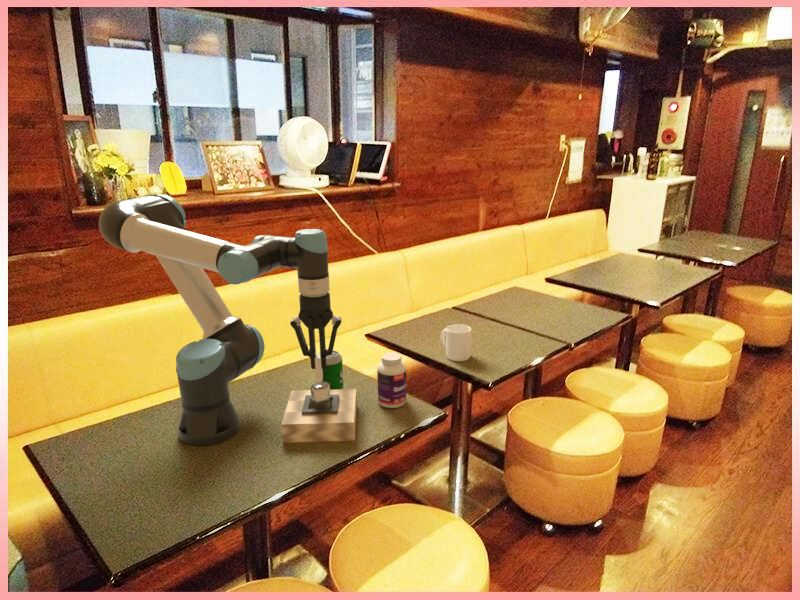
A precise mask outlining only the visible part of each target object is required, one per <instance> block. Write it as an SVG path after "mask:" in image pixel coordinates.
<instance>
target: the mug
mask: <svg viewBox="0 0 800 600" xmlns="http://www.w3.org/2000/svg"><path fill="white" fill-rule="evenodd" d="M440 342H441V343H440V344H441V345H442V346H443V347H444V348H445V356H446V358H447V359H448V360H450V361H453V362H465V361H467V360H469V359H470V358H471V354H472V353H471V350H472V327H470V326H469V325H466V324H462V323H458V324H457V323H455V324H450V325H448V326H446V327H445V328H444V329H443V330H442V331H441V333H440Z"/></svg>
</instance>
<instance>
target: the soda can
mask: <svg viewBox="0 0 800 600" xmlns="http://www.w3.org/2000/svg"><path fill="white" fill-rule="evenodd" d="M343 368H344V367H343V356H342V354H341V353H339V352H338V351H336V350H333V352H332V355H328V356H326V368H325V369H323V380H322V382H327V383H329V385H330V390H335V389H344V374H343V373H344V372H343V370H344V369H343Z"/></svg>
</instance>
